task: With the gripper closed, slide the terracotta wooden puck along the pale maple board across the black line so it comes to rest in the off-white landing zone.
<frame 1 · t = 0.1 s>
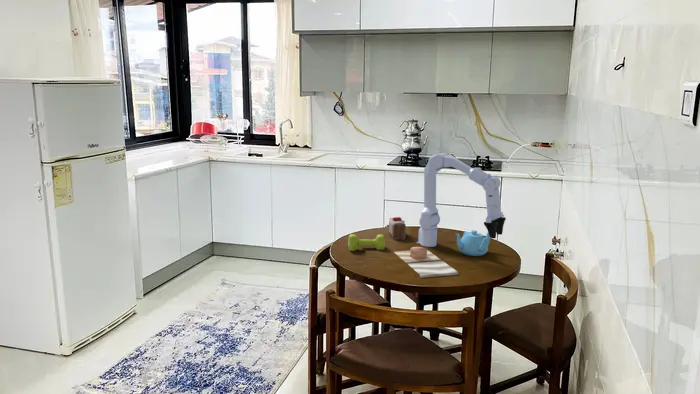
hand: (496, 236, 222), 11 cm above the table, tool pointing down, fingers open, 7 cm apart
dumbbell: (366, 250, 235), on the table
puck: (418, 256, 223), point 1 cm above the table, touching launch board
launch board: (423, 263, 218), on the table
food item: (397, 236, 258), on the table
teapot: (474, 253, 232), on the table
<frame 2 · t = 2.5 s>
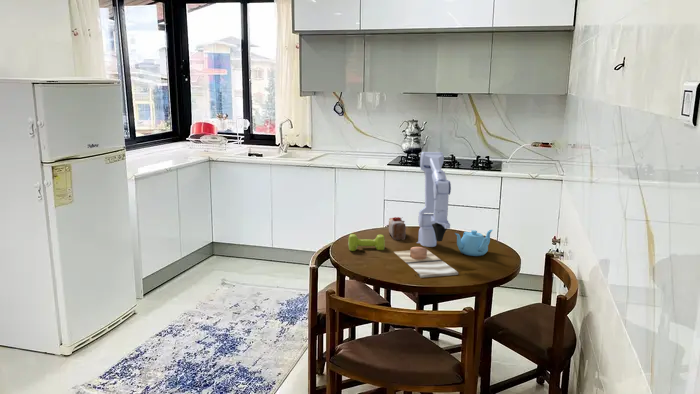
hand: (439, 240, 219), 9 cm above the table, tool pointing down, fingers closed
nothing on the table moved.
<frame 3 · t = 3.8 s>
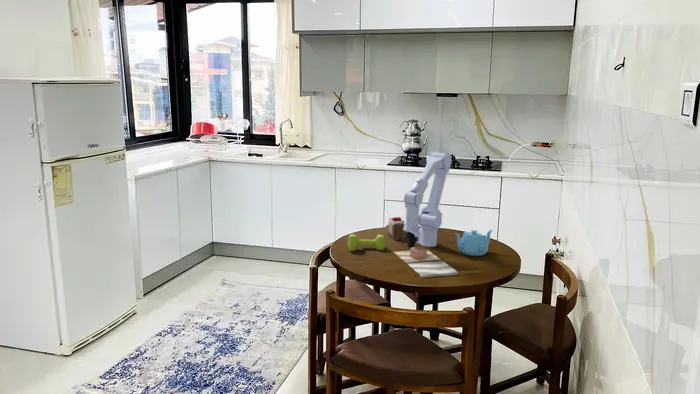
hand: (411, 248, 230), 2 cm above the table, tool pointing down, fingers closed
nothing on the table moved.
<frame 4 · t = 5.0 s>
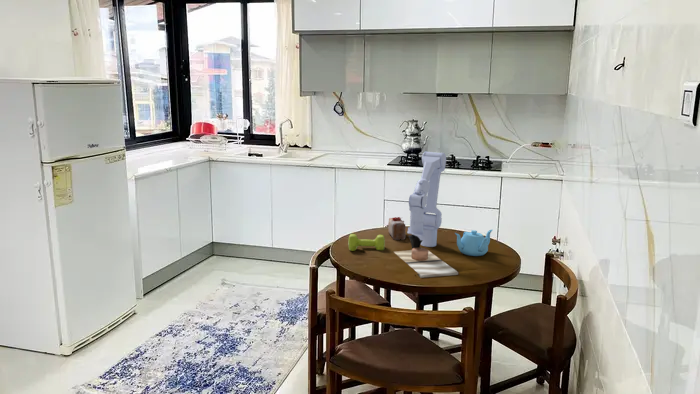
hand: (415, 251, 225), 2 cm above the table, tool pointing down, fingers closed
puck: (419, 257, 221), point 1 cm above the table, touching gripper, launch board
everything else where it was.
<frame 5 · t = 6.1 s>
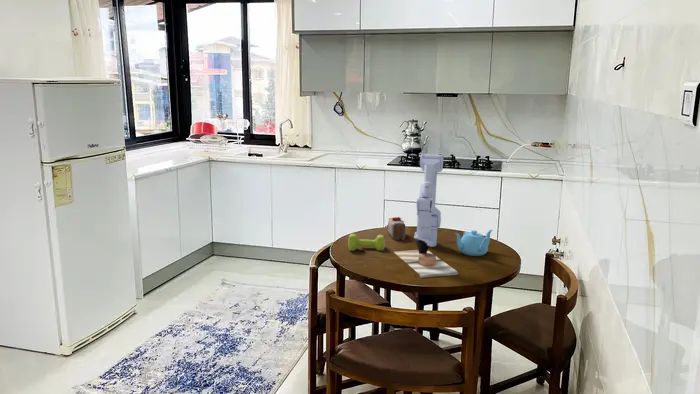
hand: (422, 257, 218), 2 cm above the table, tool pointing down, fingers closed
puck: (426, 263, 214), point 1 cm above the table, touching gripper
everything else where it was.
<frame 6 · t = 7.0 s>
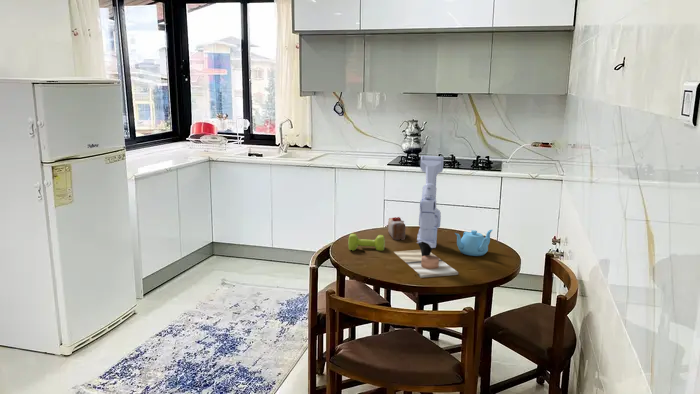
hand: (425, 259, 215), 2 cm above the table, tool pointing down, fingers closed
puck: (429, 266, 211), point 1 cm above the table, touching gripper, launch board
everything else where it was.
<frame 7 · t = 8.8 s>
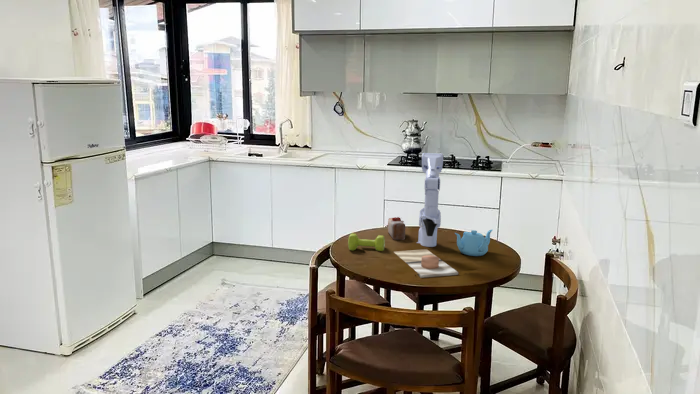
hand: (429, 235, 225), 9 cm above the table, tool pointing down, fingers closed
puck: (429, 266, 211), point 1 cm above the table, touching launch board
everything else where it was.
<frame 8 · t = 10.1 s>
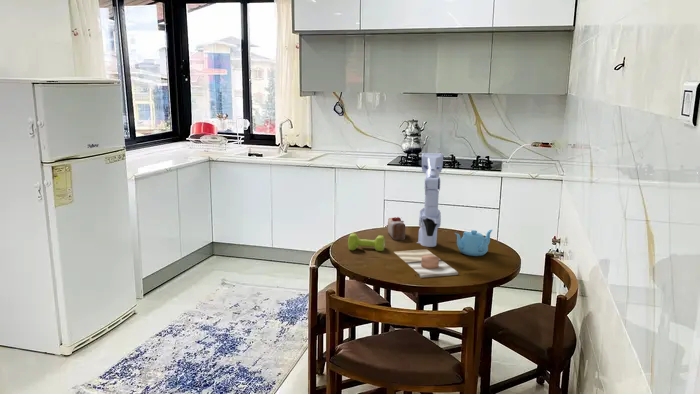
hand: (429, 235, 225), 9 cm above the table, tool pointing down, fingers closed
at the end: puck inside the target area (2.7 cm from its centre), point 1.0 cm above the table; puck tilted 0° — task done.
